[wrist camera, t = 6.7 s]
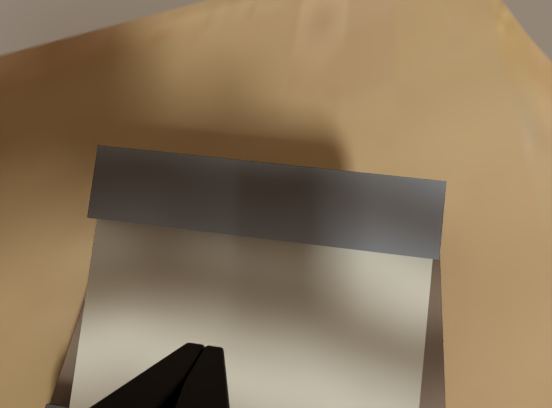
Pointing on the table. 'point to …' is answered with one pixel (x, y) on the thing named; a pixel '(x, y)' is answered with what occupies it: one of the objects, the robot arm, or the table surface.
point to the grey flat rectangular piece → (260, 278)
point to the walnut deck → (432, 363)
